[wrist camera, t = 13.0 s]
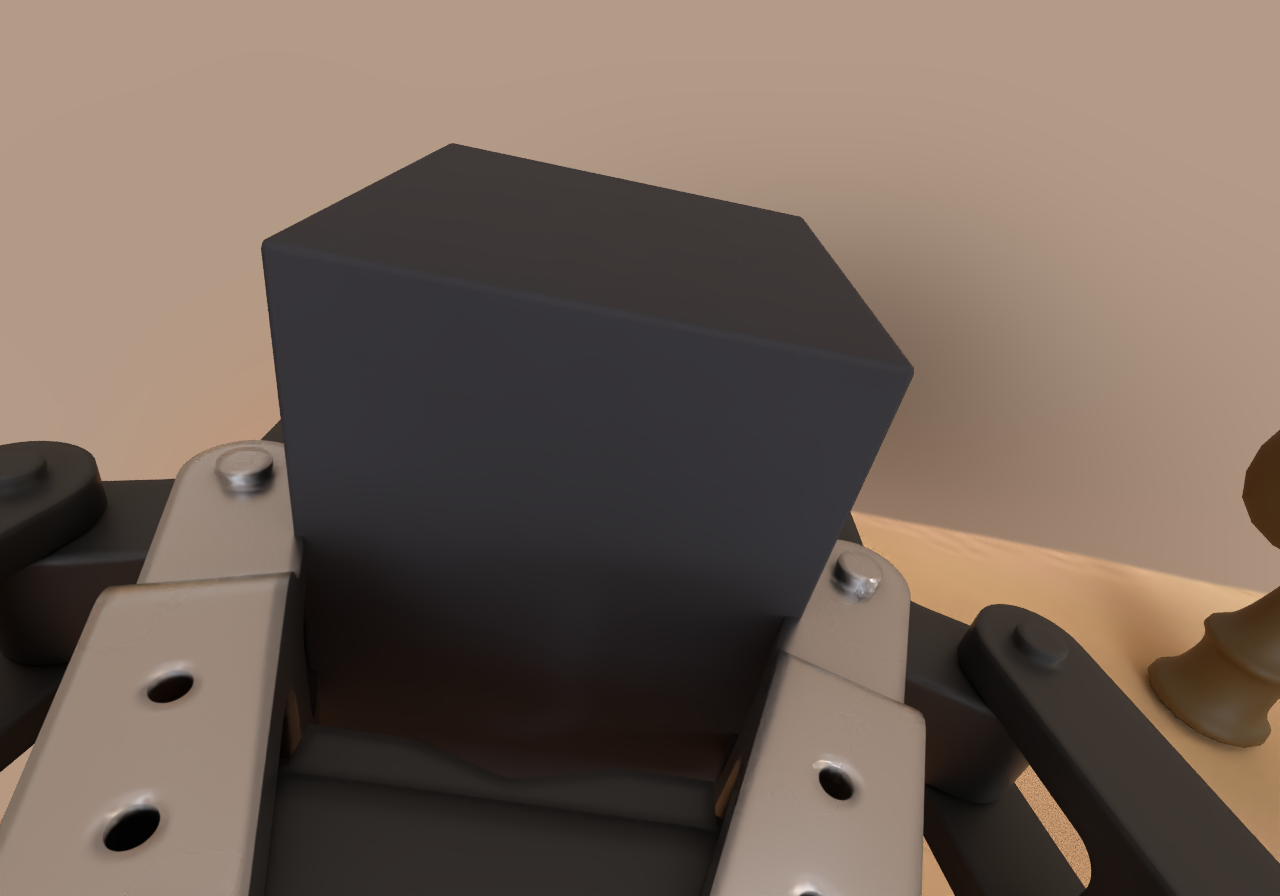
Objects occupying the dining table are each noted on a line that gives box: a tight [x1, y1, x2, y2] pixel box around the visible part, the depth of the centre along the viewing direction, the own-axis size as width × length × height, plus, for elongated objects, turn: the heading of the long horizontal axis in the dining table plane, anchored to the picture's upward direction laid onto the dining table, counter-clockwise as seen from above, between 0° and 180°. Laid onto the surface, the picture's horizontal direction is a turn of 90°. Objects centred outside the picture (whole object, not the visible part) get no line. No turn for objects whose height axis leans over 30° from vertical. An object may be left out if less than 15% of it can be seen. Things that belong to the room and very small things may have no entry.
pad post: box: [261, 143, 914, 785], centre depth 10 cm, size 5×5×11 cm
